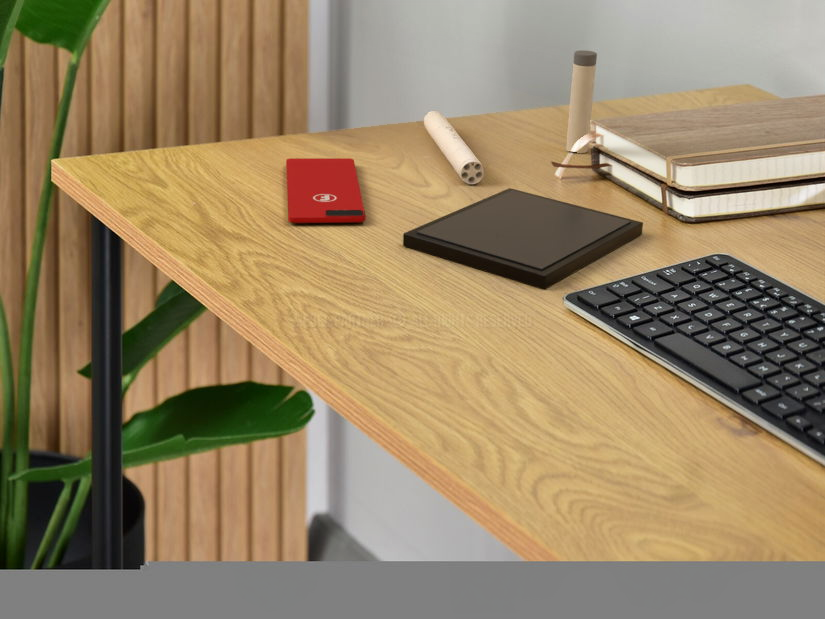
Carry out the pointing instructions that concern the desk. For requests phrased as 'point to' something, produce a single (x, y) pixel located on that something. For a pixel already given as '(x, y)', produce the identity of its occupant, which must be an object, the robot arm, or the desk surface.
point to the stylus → (581, 97)
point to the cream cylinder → (454, 148)
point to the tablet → (524, 237)
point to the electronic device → (323, 191)
